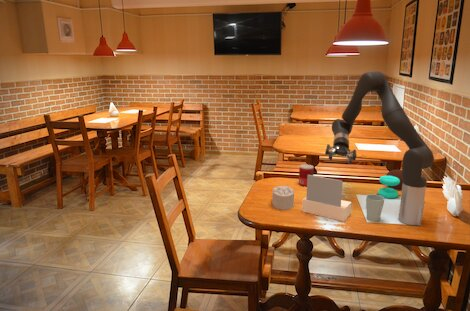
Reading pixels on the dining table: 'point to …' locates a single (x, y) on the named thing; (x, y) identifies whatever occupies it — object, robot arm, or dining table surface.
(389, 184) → the pair of teal discs
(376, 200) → the cup
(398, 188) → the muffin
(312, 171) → the canned food
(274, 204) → the paw print tray
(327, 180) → the flap
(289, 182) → the dining table surface
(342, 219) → the carton
